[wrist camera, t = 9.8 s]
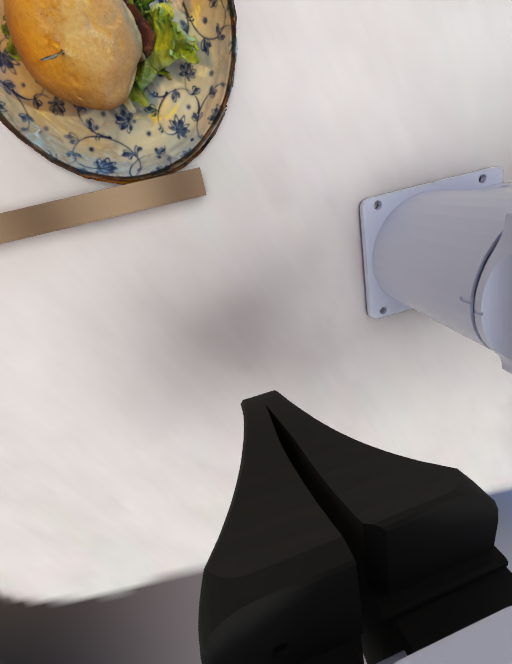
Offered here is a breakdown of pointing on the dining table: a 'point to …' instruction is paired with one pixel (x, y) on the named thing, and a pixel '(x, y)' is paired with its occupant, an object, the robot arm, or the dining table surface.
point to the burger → (116, 81)
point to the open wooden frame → (100, 205)
